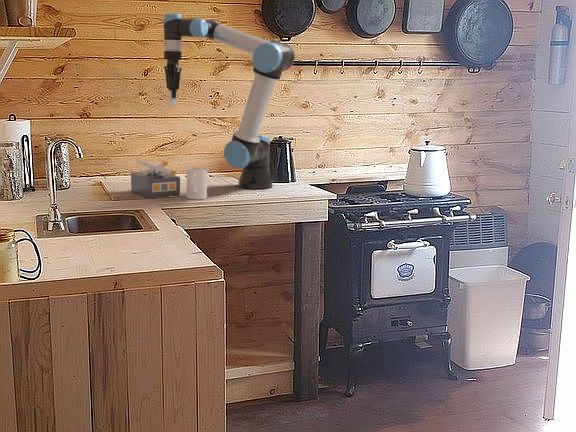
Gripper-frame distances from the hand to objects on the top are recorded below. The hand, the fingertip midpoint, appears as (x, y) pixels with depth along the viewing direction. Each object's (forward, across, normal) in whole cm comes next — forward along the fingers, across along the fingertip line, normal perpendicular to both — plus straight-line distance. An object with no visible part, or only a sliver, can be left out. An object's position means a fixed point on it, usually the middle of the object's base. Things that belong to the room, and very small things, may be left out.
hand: (172, 105), depth 334 cm
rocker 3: (+24, +26, -17) cm, 40 cm away
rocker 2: (+24, +20, -17) cm, 36 cm away
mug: (+35, +36, -6) cm, 50 cm away
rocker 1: (+24, +14, -17) cm, 33 cm away
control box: (+34, +20, -17) cm, 43 cm away
